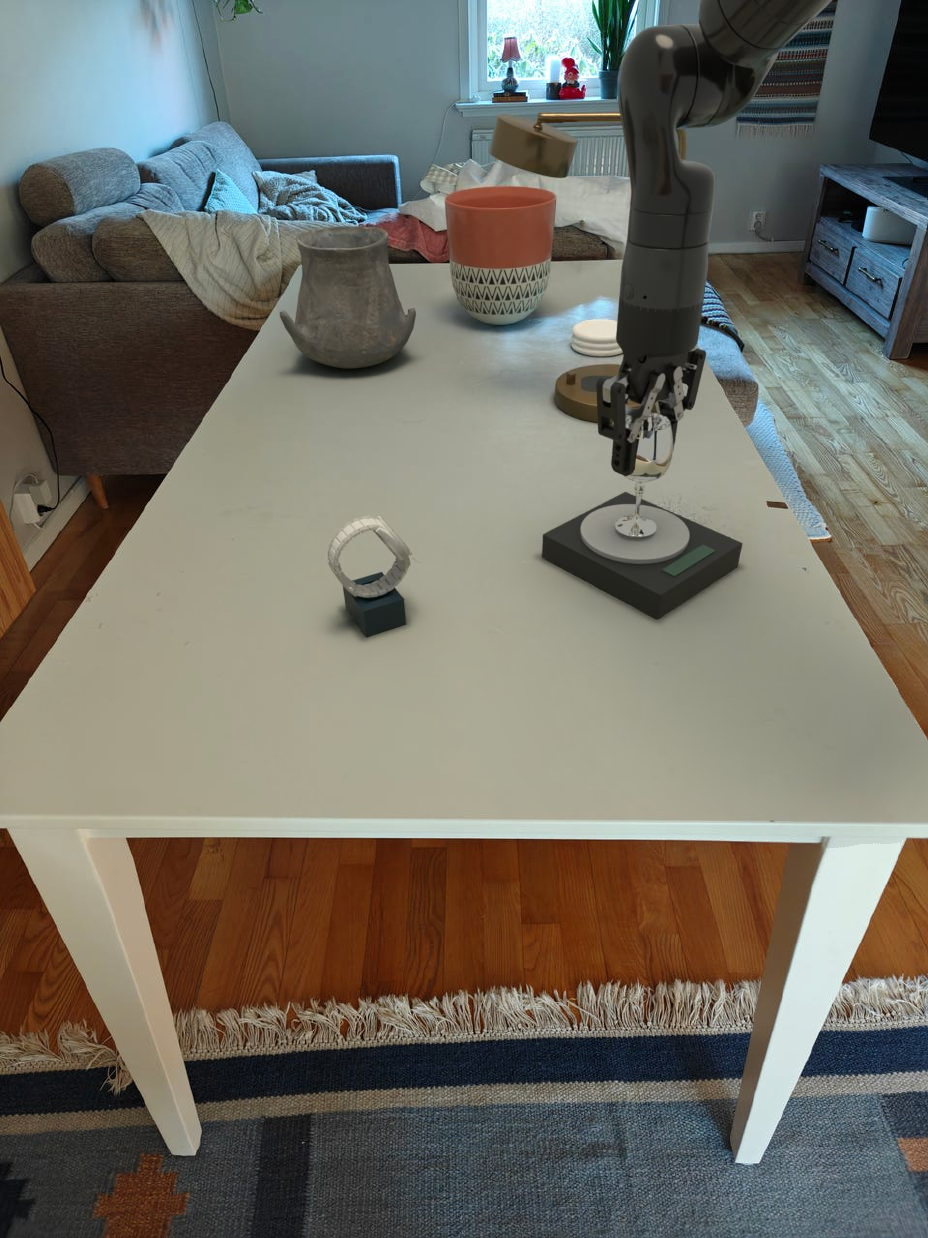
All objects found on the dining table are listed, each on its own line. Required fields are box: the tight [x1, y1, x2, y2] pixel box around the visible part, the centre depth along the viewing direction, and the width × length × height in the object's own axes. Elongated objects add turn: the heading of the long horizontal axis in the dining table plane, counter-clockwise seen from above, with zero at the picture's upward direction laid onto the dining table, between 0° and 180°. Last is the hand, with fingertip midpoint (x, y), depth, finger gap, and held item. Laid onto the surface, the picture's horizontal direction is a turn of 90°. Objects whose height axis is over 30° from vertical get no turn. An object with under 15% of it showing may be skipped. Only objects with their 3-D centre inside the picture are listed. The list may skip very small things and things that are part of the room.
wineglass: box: [615, 412, 674, 537], centre depth 88 cm, size 6×6×12 cm
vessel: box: [279, 225, 417, 369], centre depth 141 cm, size 22×22×20 cm
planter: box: [444, 185, 557, 326], centre depth 155 cm, size 20×20×21 cm
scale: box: [541, 491, 743, 620], centre depth 92 cm, size 16×14×4 cm
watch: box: [327, 514, 413, 638], centre depth 83 cm, size 6×8×11 cm
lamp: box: [488, 111, 688, 424], centre depth 118 cm, size 17×27×38 cm, turn 83°
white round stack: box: [570, 318, 623, 357], centre depth 147 cm, size 10×10×4 cm
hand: (642, 462), depth 87 cm, fingers closed on wineglass, 5 cm apart
